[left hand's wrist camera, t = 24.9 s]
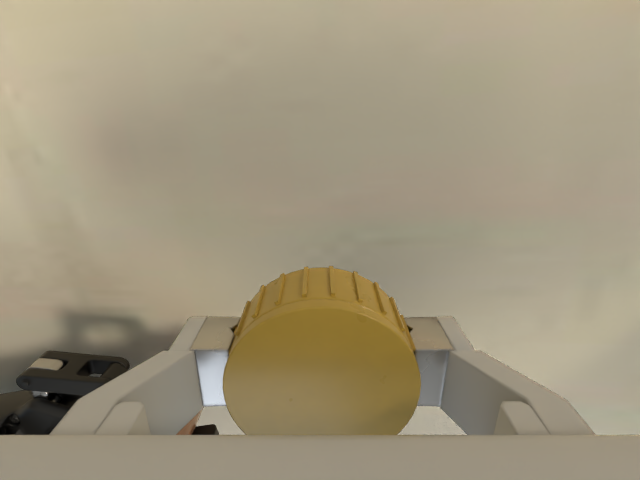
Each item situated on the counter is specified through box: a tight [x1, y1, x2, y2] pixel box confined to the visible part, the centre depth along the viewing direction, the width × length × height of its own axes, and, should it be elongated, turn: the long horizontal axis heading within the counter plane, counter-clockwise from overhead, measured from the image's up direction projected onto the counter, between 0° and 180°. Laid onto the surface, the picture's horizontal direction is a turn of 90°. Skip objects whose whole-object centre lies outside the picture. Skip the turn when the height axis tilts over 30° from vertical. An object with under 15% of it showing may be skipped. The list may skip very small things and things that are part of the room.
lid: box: [223, 266, 421, 435], centre depth 9 cm, size 5×5×2 cm
